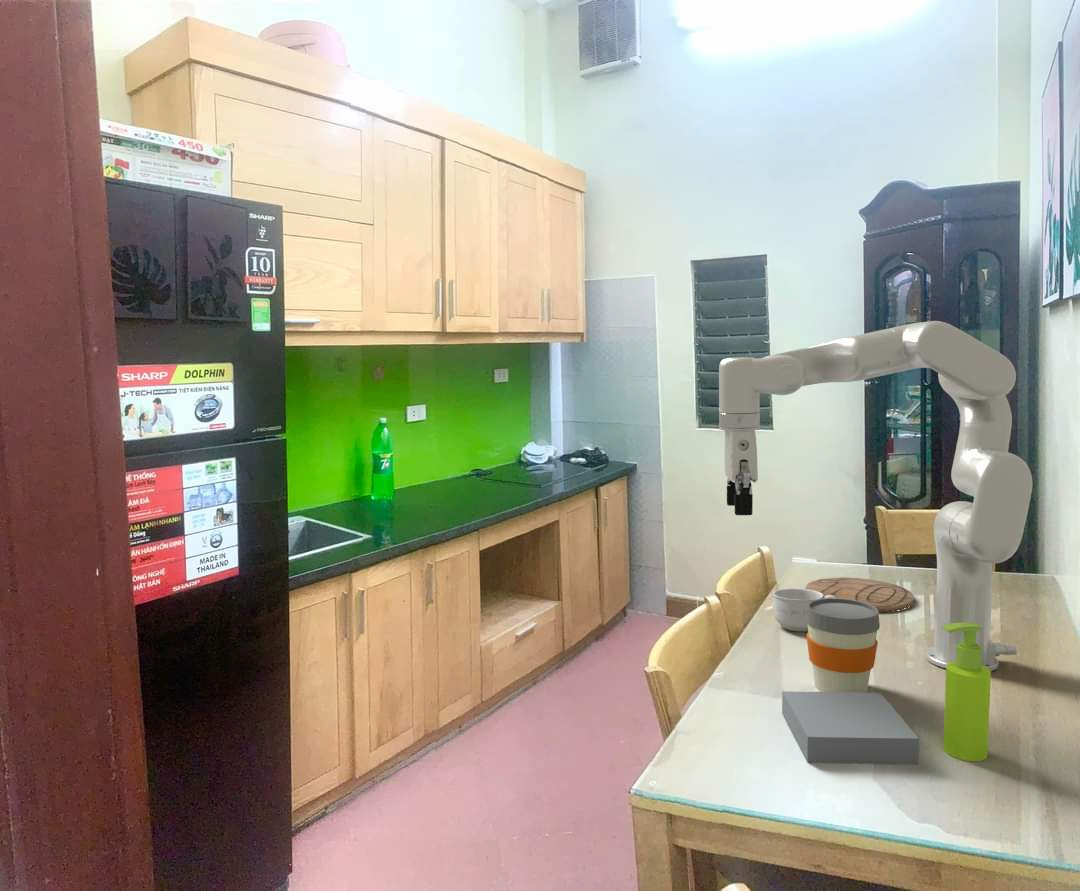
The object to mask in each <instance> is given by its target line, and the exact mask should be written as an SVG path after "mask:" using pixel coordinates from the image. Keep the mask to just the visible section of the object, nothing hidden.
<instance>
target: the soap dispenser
mask: <svg viewBox="0 0 1080 891" xmlns="http://www.w3.org/2000/svg"><path fill="white" fill-rule="evenodd" d="M941 627H942V628H943V629H944V630H946V631H948V632H949V633H953V632H958V631H963V642H960V643H958V644H957V645H956V662H950V663H948V664H947V665H946V668H945V687H944V688H945V692H944V720H943V746H942V748H943V751H944V752H945V753H946V754H947V755H949V756H952V757H954V758H955V759H958V760H961V761H966V762H981V761H980V760H982V761H984V759H985V760H986V759H987V758H988V754H989V753H988V752H989V750H988V748H989V726H990V701H991V683H992V682H991V680H992V679H991V678H992V677H991V676H992V671H990V670H989V669H988V668H986V667H984V666H981V664H982V647H981V646H979V645H978V644H976V631H983V627H982V626H980V625H978V624H976V623H965V622H960V623H951V624H947V625H944V626H941Z"/></svg>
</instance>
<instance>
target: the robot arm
mask: <svg viewBox="0 0 1080 891" xmlns="http://www.w3.org/2000/svg"><path fill="white" fill-rule="evenodd" d="M718 368H719V369H718V397H719V398H718V411H719V412H718V426H719V427H718V429H719V431H723V432H724V473H725V476H726V478H727V479H726V483H727V484H726V505H727V506H729V507H730V506H731V507H732V506H734V515H736V516H751V515H753V506H754V505H753V500H754V499H753V486H752V482H753V483H757V481H758V480H759V474H758V472H759V471H758V469H759V468H758V467H759V466H758V448H757V446H758V445H757V435H756V431H759V430H760V424H761V423H760V421H761V420H760V418H761V417H760V416H761V413H760V411H761V410H760V405H761V404H760V402H761V401H760V394H766V395H767V394H769V395H775V396H788V395H791V394H793V393H796V392H797V391H798V390H800V389H801V388H802V387H805V386H811V385H818V384H826V383H852V382H859V381H864V380H869V379H873V378H877V377H882V376H888V375H891V374H897V373H901V372H907V371H910V370H916V369H925V368H926V369H931V370H933V371H935V372H936V373H938V374H937V376H938V383H939V384H940V387H941V388H942V389H943V391H944V392H945V393H947V394H948V395H949V397H951V398H952V400H953V401H954V403H955V404H956V406H957V409H958V412H959V418H960V423H959V424H960V425H959V432H958V437H957V442H956V448H955V452H954V456H953V463H952V467H951V474H950V476H951V481H952V484H953V485H954V487H955V488H956V489H957V490H958V491H959V492H962V493H964V494H966V495H967V496H971V497H973V502H970V501H965V500H964V501H963V500H962V501H961V500H960V501H959V500H957V501H953V502H949V503H948V504H945V505H944V506H943V507H941V509H940V510H939V511H938V512H937V514H936V516H935V518H934V523H933V537H934V544H935V545H934V546H935V550H936V589H935V615H934V616H935V617H934V642H933V643H934V645H931V646H929V647H927V648H926V649H925V653H924V654H925V655H924V656H925V658H926V660H928V661H929V662H930V663H932V664H933V665H934V666H937V667H940V668H943V669H946V665H947V664H948V663H950V662H956V645H957V644H958V643H960V642H963V631H958V632H953V633H949V632H948V631H946V630H944V629H943V628H942V627H941V626H944V625H947V624H951V623H960V622H965V623H976V624H978V625H980V626H982V627H983V631H976V644H978V645H979V646H981V647H982V664H981V666H984V667H986V668H988V669H989V670H990V671H991V672H993V670H994V671H996V670H997V669H998V668H999V660H998V657H1000V656H1001V655H1004V656H1016V655H1017V653H1018V651H1017V647H1016V645H1014V644H1003V642H1002V641H992V640H991V623H992V622H991V621H992V600H993V599H992V597H993V585H994V584H993V582H994V581H993V565H992V564H999V563H1003V562H1005V561H1007V560H1008V559H1010V558H1012V557H1013V555H1014V554H1015V553H1016V552H1017V550H1018V549H1019V546H1020V544H1021V542H1022V538H1023V535H1024V532H1025V531H1024V529H1025V527H1026V526H1025V525H1026V522H1027V516H1028V512H1029V507H1030V502H1031V497H1032V492H1033V476H1032V472H1031V470H1030V468H1029V466H1028V464H1027V463H1026V461H1025V460H1023V459H1022V457H1020V456H1018V455H1016V454H1014V453H1011V452H1009V449H1010V441H1011V433H1012V424H1013V423H1012V422H1013V416H1012V415H1013V414H1012V410H1011V406H1010V403H1009V401H1008V398H1007V396H1006V395H1008V394H1009V393H1010V392H1011V391H1012V390H1013V388H1014V386H1015V384H1016V381H1017V379H1016V378H1017V373H1016V369H1015V367H1014V365H1013V363H1012V362H1011V360H1010V359H1009V358H1008V357H1006V356H1005V355H1004V354H1002V353H1001V352H999V351H998V350H996V349H994V348H992V347H990V346H989V345H987V344H986V343H983V342H982V341H980V340H978V339H977V338H975V337H973V336H972V335H970V334H968V333H967V332H965V331H963V330H962V329H960V328H958V327H955V326H954V325H951V324H950V323H948V322H944V321H939V320H931V321H922V322H914V323H908V324H903V325H898V326H895V327H890V328H885V329H879V330H877V331H876V330H875V331H871V332H866V333H862V334H861V333H860V334H857V335H853V336H852V335H851V336H848V337H843V338H839V339H834V340H831V341H829V342H826V343H825V342H824V343H821V344H817V345H812V346H808V347H803V348H798V349H793V350H789V351H783V352H779V353H775V354H770V355H766V356H764V357H762V358H761V357H760V358H759V357H758V358H756V357H750V356H749V357H748V356H747V357H746V356H745V357H744V356H743V357H741V356H739V357H725V358H723V359H722V360H721V361H720V363H719V366H718ZM995 669H996V670H995Z"/></svg>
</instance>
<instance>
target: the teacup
mask: <svg viewBox="0 0 1080 891" xmlns="http://www.w3.org/2000/svg"><path fill="white" fill-rule="evenodd" d="M772 596H773V613H774V619H775V621H776V622H777V623H778V624H779V625H780V626H782V628H783V629H785V630H788V631H793V632H808V624H807V623H806V621H805V618H806V610H807V604H808V603H809V602H810V601H813V600H817V599H823V598H836V597H835V596H832V595H827V596H825V597H823V594H822V593H820V592H817V591H814V590H809V589H806V588H797V587H794V588H793V587H791V588H781V589H776V590H774V591H772Z"/></svg>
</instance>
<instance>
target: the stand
mask: <svg viewBox="0 0 1080 891" xmlns="http://www.w3.org/2000/svg"><path fill="white" fill-rule="evenodd" d="M781 693H782V694H781V695H782V696H781V697H782V698H781V704H782V705H781V715H782V714H783V715H782V716H784V717H783V719H784V718H785V719H784V721H785V720H786V721H785V722H787V723H786V725H787V726H788V728H789V730H790V732H791V734H792V736H793V738H794V739H795V742H796V744H797V745H798V748H799V749H800V751H801V753H802V755H803V757H804V759H805V760H806V763H813V764H816V763H817V764H870V765H871V764H874V765H877V764H878V765H881V764H883V765H919V755H920V754H919V753H920V752H919V750H920V749H919V748H920V738H919V737H918V735H917V734H916V733H915V732H914V731H913V730H912V729H911V727H910V726H909V725H908V724H907V723H906V722H905V720H904V719H903V717H901V716H900V715H899V713H898V712H897V711H896V710H895V709H894V708H893V706H892V705H891V703H889V702H888V700H887V699H886V698H885V696H883V695H882V693H881V692H873V691H872V692H870V691H869V692H868V691H867V692H820V691H782V692H781Z"/></svg>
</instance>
